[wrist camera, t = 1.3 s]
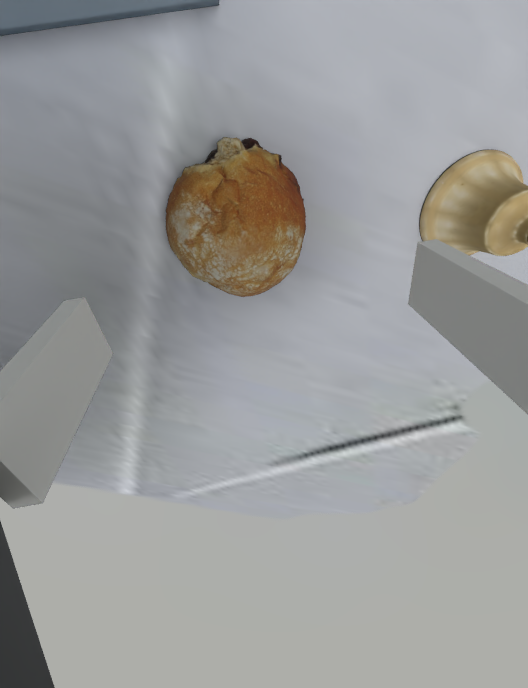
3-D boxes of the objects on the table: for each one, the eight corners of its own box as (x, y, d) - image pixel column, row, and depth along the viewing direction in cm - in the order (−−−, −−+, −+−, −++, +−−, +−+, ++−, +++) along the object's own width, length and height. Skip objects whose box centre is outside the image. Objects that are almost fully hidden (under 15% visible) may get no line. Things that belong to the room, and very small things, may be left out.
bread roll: (167, 222, 27) (141, 292, 23) (197, 92, 19) (167, 161, 15) (270, 263, 30) (265, 331, 26) (333, 167, 22) (341, 241, 18)
